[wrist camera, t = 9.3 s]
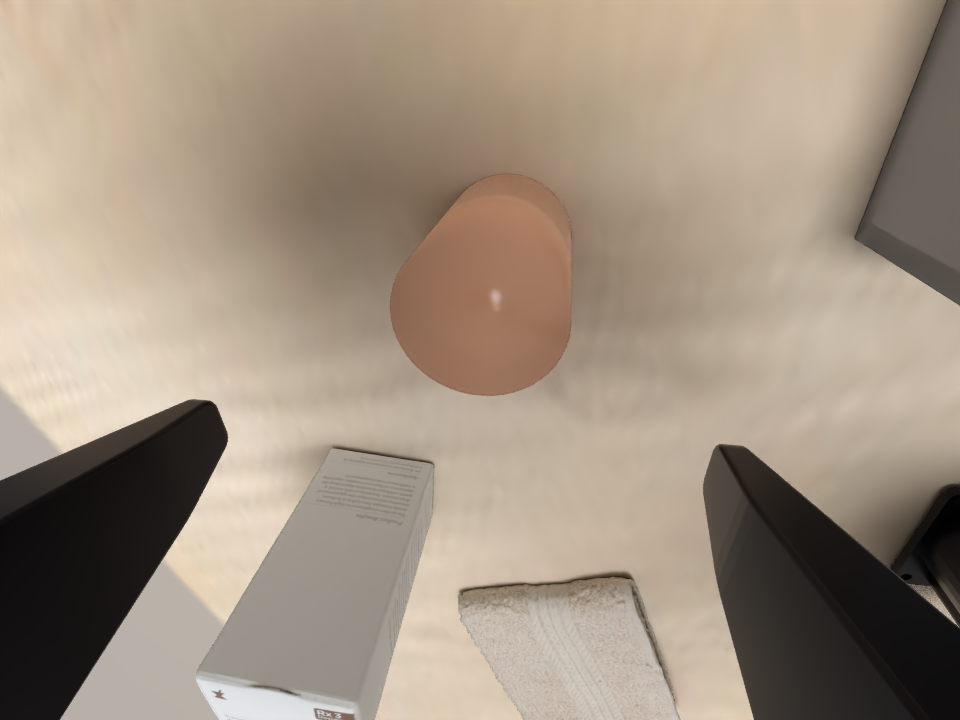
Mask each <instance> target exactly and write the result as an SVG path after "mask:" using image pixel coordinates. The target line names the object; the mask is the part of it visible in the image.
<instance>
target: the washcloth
mask: <svg viewBox="0 0 960 720" xmlns="http://www.w3.org/2000/svg"><path fill="white" fill-rule="evenodd" d="M458 599H459V600H458V601H459V602H458V604H459V614H460V615H461V618H460V621H461V622H463V625H464V626H466V629H467V631H468V633H469V634H470V636H471V638H472V639H473V640H474V643H475V645H476V646H477V647H479V648H480V650H481V654H483V655H484V656H485V659H486V661H487V662H488V663H489V665H490V668H491V669H492V671H493V672H494V673H495V677H496V679H497V680H498V682H500V683H501V685H502V686H503V689H504V691H505V692H506V693H507V694H508V697H509V698H510V699H511V700H512V702H513V703H514V705H515V706H516V707H517V710H518V711H519V712H520V714H521V716H522V718H523V720H680V717H679V715H678V713H677V711H676V707H675V703H674V701H675V700H674V698H673V694H672V690H673V689H672V685H671V682H670V679H669V676H668V672H667V670H666V667H665V664H664V661H663V659H662V655H661V653H660V650H659V647H658V644H657V641H656V639H655V636H654V633H653V631H652V628H651V625H650V623H649V621H648V618H647V615H646V612H645V608H644V605H643V602H642V599H641V596H640V593H639V590H638V588H637V586H636V584H635V582H634V581H633V580H632V579H625V578H622V577H618V578H615V577H610V578H595V579H588V580H577V581H573V582H572V583H565V584H551V585H540V586H531V585H529V584H523V585H514V586H504V587H499V588H498V587H496V588H495V587H492V588H489V587H488V588H486V589H482V588H480V589H474V590H469V591H467V592H464V593H463V595H462V596H461V595H458Z"/></svg>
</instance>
